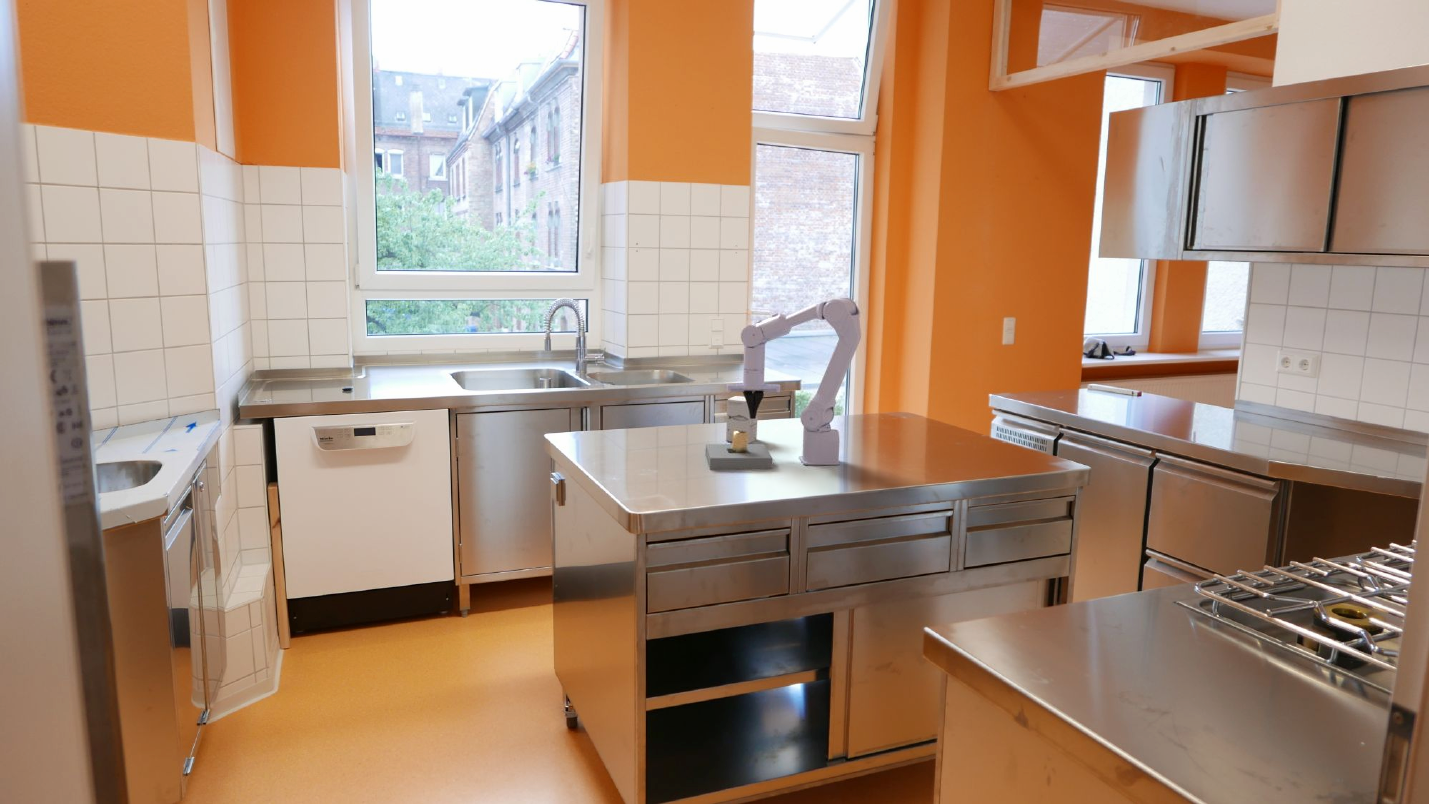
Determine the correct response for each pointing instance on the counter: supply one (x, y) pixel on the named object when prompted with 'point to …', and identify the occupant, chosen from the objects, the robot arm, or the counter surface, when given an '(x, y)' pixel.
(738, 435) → the brass sleeve
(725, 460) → the jig block
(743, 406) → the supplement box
